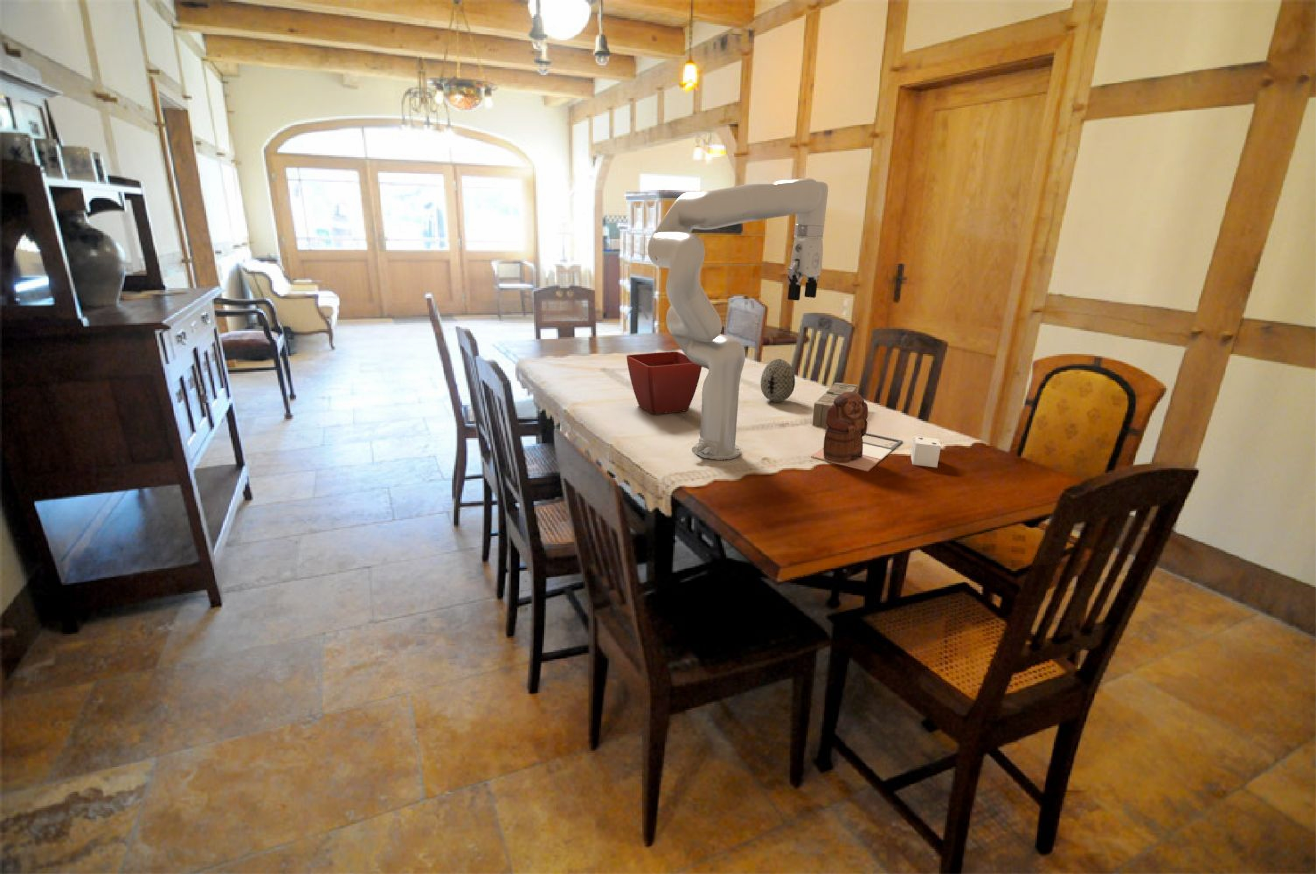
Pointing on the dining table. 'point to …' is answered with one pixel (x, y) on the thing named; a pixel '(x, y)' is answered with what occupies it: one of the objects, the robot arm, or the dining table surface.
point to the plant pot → (663, 381)
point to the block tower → (829, 402)
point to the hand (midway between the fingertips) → (801, 298)
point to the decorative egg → (777, 380)
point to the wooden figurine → (845, 428)
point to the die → (925, 451)
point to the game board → (865, 454)
